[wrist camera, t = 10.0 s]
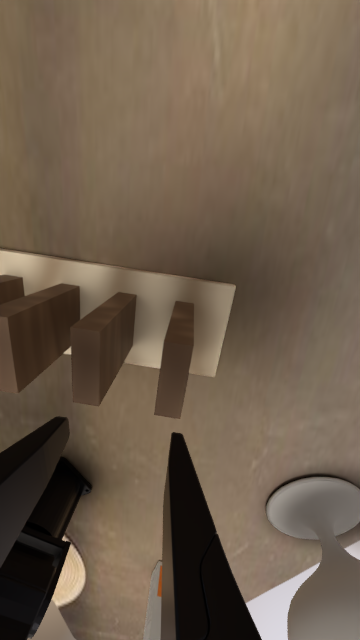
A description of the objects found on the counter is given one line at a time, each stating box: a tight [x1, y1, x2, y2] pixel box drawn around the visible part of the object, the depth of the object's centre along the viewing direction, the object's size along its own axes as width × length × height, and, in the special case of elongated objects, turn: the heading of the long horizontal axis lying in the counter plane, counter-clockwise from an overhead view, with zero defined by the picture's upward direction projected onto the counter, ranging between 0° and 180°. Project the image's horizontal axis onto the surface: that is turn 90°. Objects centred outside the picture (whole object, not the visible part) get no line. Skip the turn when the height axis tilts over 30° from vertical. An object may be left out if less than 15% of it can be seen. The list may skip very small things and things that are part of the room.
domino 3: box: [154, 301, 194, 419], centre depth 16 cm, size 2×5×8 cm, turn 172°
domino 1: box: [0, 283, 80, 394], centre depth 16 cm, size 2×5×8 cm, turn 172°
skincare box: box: [143, 561, 162, 640], centre depth 31 cm, size 6×4×12 cm
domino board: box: [0, 248, 236, 377], centre depth 21 cm, size 32×9×1 cm, turn 82°
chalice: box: [266, 477, 360, 640], centre depth 22 cm, size 14×14×15 cm
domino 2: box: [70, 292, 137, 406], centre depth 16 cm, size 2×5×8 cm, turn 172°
